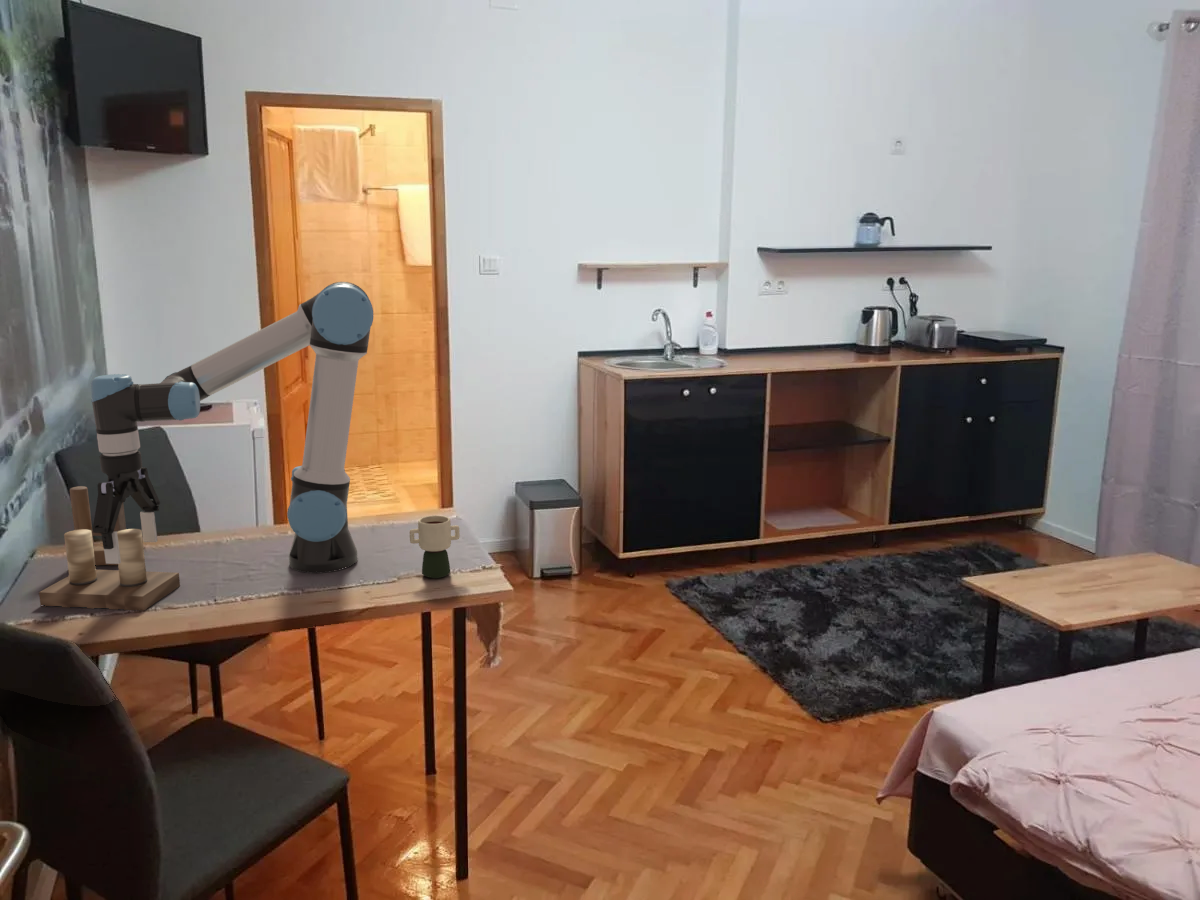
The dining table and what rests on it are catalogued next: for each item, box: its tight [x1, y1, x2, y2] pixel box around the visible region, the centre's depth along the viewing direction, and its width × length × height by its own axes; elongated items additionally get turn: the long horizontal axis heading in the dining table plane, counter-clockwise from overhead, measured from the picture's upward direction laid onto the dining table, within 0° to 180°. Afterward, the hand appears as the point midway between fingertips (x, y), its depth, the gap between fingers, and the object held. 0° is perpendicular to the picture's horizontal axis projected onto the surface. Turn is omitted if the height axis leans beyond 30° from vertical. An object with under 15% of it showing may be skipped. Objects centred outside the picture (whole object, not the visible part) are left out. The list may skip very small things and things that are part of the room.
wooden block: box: [69, 485, 127, 566], centre depth 218 cm, size 4×11×18 cm, turn 95°
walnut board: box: [38, 529, 181, 612], centre depth 199 cm, size 22×14×14 cm, turn 85°
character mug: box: [409, 514, 461, 579], centre depth 212 cm, size 11×7×13 cm, turn 108°
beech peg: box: [117, 528, 147, 587], centre depth 199 cm, size 5×5×14 cm
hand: (132, 552), depth 198 cm, fingers open, 13 cm apart
